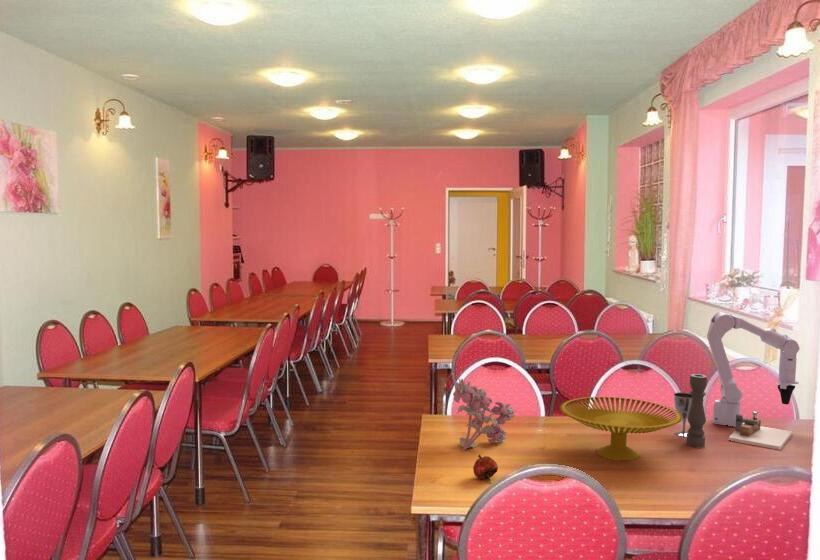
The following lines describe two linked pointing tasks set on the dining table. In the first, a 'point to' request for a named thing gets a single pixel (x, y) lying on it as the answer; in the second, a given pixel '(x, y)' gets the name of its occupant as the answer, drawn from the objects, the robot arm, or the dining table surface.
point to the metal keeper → (743, 421)
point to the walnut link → (749, 428)
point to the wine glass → (682, 409)
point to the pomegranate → (485, 467)
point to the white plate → (763, 437)
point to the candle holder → (697, 411)
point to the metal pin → (755, 415)
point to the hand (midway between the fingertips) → (785, 403)
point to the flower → (481, 413)
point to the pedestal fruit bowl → (620, 422)
